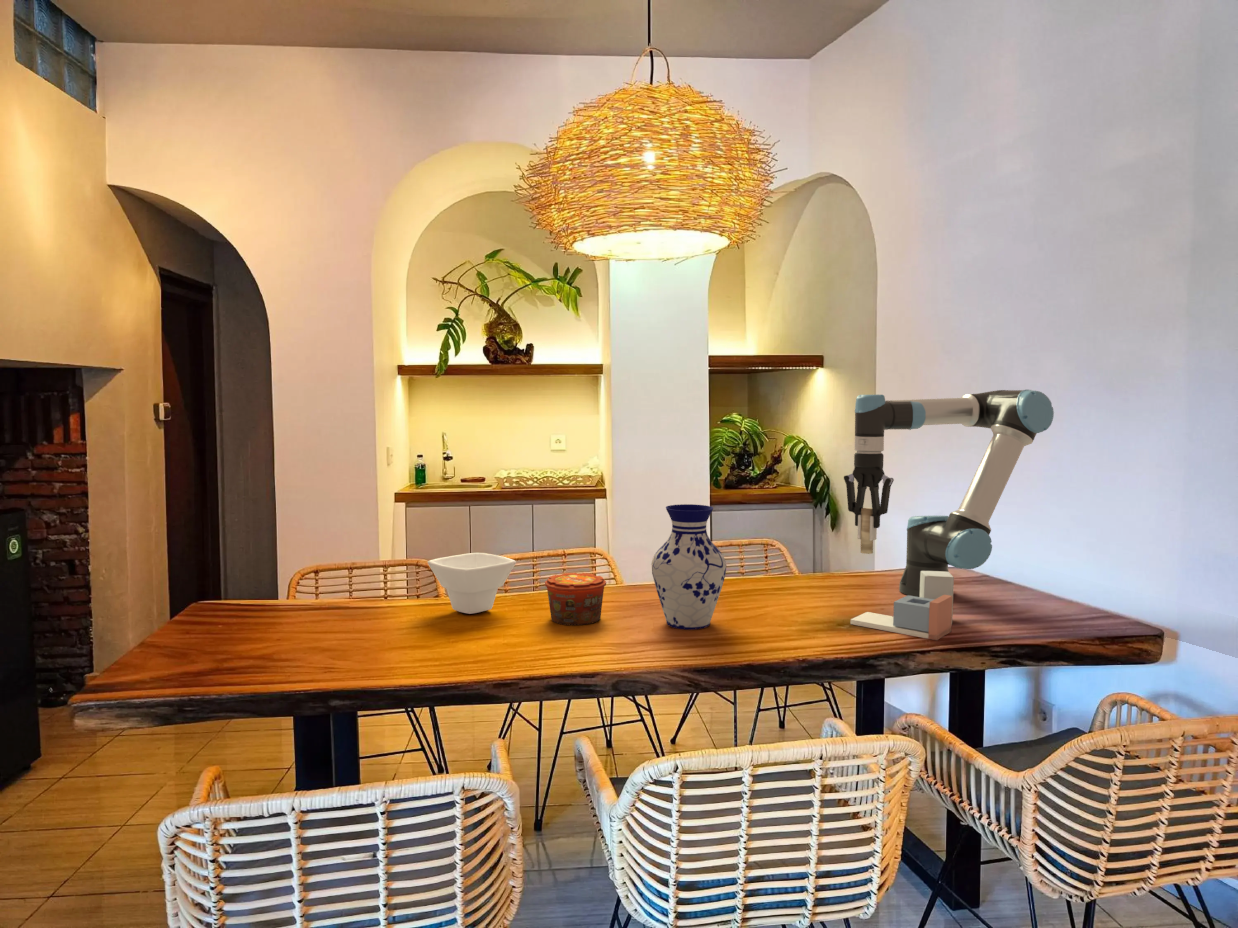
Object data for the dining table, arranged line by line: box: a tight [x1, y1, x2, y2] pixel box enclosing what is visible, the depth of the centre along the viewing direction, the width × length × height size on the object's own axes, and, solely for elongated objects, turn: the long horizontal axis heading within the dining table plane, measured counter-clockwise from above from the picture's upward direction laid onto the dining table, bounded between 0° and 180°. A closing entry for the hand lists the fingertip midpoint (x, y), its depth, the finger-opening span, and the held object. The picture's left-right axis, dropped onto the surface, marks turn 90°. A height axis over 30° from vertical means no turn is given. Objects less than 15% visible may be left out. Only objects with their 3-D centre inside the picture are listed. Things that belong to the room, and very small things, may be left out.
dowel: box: [860, 507, 874, 555], centre depth 231 cm, size 3×3×12 cm
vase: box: [651, 503, 727, 630], centre depth 218 cm, size 19×19×30 cm
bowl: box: [427, 552, 517, 615], centre depth 230 cm, size 19×19×14 cm
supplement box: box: [920, 571, 955, 626], centre depth 223 cm, size 7×7×13 cm
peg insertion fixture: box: [850, 595, 953, 641], centre depth 216 cm, size 10×22×9 cm, turn 50°
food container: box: [544, 572, 607, 626], centre depth 223 cm, size 16×16×11 cm
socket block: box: [893, 594, 934, 632], centre depth 213 cm, size 9×9×6 cm
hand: (866, 538), depth 232 cm, fingers closed on dowel, 3 cm apart
